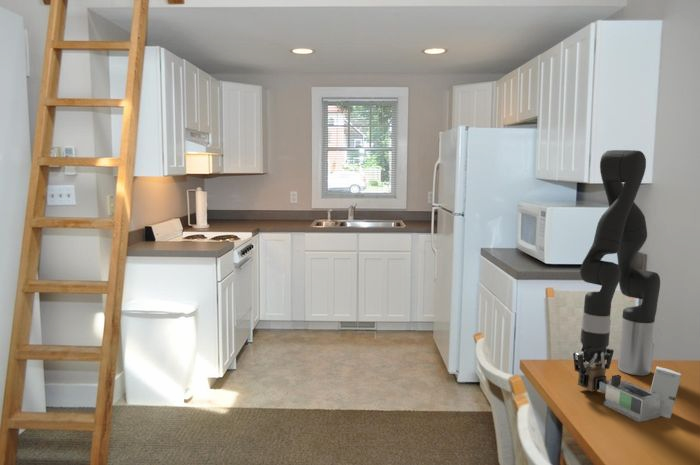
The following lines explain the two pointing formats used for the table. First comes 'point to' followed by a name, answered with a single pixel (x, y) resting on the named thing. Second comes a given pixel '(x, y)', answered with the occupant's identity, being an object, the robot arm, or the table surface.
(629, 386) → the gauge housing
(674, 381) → the skincare box
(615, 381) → the dark gray block
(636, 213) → the robot arm
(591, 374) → the walnut block
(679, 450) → the table surface
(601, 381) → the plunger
